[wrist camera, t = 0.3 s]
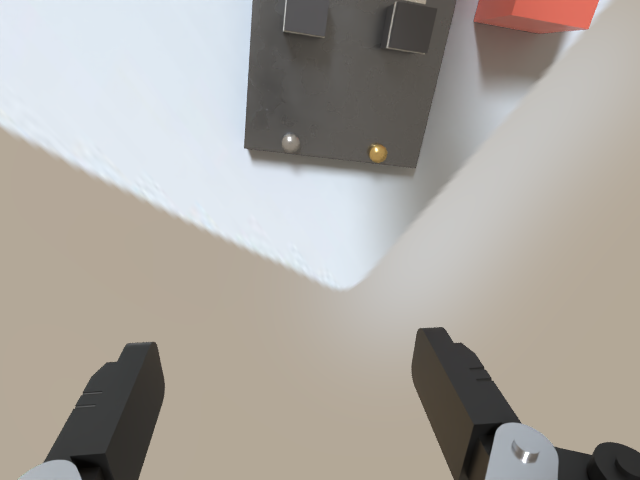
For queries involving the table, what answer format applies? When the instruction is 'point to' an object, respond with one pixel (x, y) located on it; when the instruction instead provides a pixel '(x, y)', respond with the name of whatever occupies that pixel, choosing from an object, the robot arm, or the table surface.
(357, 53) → the breaker panel
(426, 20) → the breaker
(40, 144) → the table surface
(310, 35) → the breaker
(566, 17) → the red cube
